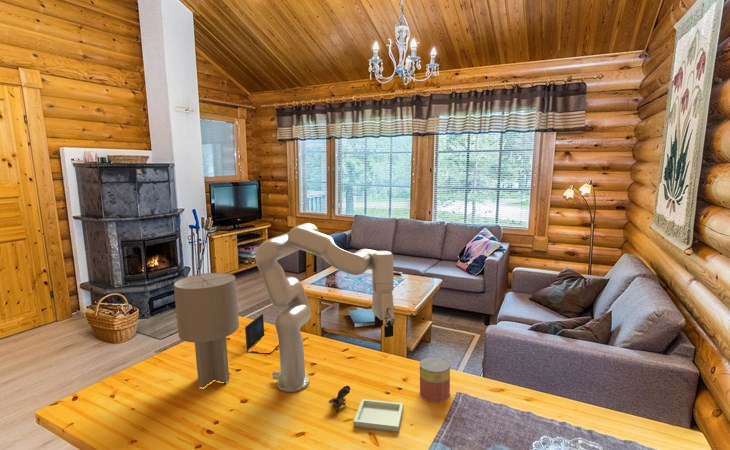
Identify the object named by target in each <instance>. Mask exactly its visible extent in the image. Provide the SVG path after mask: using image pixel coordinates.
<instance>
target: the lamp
mask: <svg viewBox="0 0 730 450" xmlns="http://www.w3.org/2000/svg"><path fill="white" fill-rule="evenodd" d="M236 280H237V279H236V275H235V274H233V273H232V274H231V273H228V272H207V273H200V274H194V275H189V276H185V277H182V278H180V279H179V280H178V279H177V280H176V281H175V282H174V283H173V291H174V293H173V294H174V301H175V311H176V320H177V321H176V323H177V331H178V337H179V339H180V340H182V341H183V342H187V343H194V351H195V361H196V362H195V363H196V370H197V371H196V372H197V382H198V388H199V387H202V388H203V387H205V386H206V385H207V384H209V383H210V382H212V381H213V380H216V381H220V382H224V383H226V382H228V381H229V380H230V371H229V369H230V368H229V357H228V345H227V337H229V336H231V335H232V334H234V333H236V332H237V331H238V330H239V328H240V323H239V321H240V320H239V310H238V309H239V308H238V306H239V305H238V295H237V281H236Z"/></svg>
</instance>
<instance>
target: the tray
mask: <svg viewBox="0 0 730 450" xmlns="http://www.w3.org/2000/svg"><path fill="white" fill-rule="evenodd" d="M403 412H404V403H403V402H396V401H387V400H378V399H367V398H362V399H361V401H360V403H359V406H358V409H357V411H356V414H355V416H354V420H353V428H354V429H355V428H356V429H363V430H373V431H381V432H389V433H399V432H400V427H401V422H402V419H403V418H402V417H403Z"/></svg>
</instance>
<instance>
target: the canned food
mask: <svg viewBox="0 0 730 450" xmlns="http://www.w3.org/2000/svg"><path fill="white" fill-rule="evenodd" d="M450 369H451V363H450V362H449V361H448V360H447V359H444V358H443V357H438V356H428V357H425V358H422V359H420V361H419V395H420V397H421V398H422V399H423V400H425V401H426V402H431V403H443V402H445V401H447V400H449V399H450V396H451V391H450V390H451V388H450V387H451V382H450V381H451V379H450V378H451V370H450Z"/></svg>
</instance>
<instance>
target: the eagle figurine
mask: <svg viewBox="0 0 730 450" xmlns="http://www.w3.org/2000/svg"><path fill="white" fill-rule="evenodd" d="M350 392H351V387H350V386H349V385H345V386H343V387H342V388H341V389H339V391H338V392H337V396H336V397H333V398H331V399H328V403H329V404H333V403H334V405H335V406H333V408H336V411H335V412H336V413H338V412H339V410H340V409H341V407H342V406H344V407H347V402H346V401H344V400H346V398H345V397H346V396H347V395H349V394H350Z"/></svg>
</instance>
